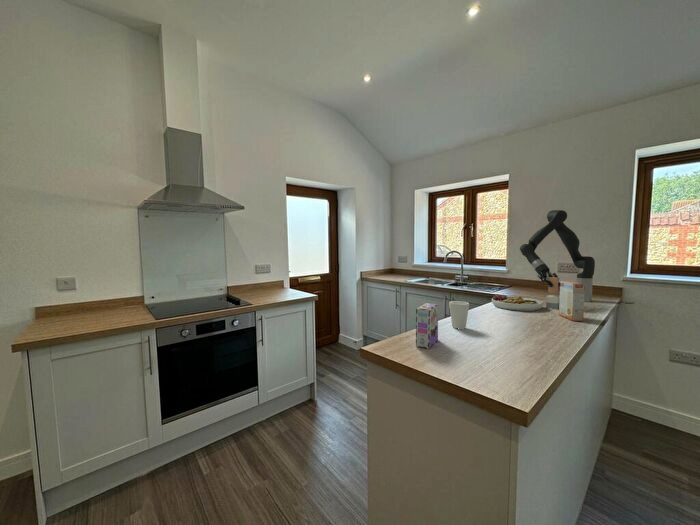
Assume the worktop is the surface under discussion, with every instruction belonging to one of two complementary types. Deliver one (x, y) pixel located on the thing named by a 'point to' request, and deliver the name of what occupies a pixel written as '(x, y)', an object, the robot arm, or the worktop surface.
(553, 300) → the tower top
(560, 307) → the cracker box
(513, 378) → the worktop surface
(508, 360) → the worktop surface
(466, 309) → the foam cup
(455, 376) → the worktop surface
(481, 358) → the worktop surface
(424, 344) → the candy box
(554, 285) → the pillar
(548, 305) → the tower base
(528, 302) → the bowl
